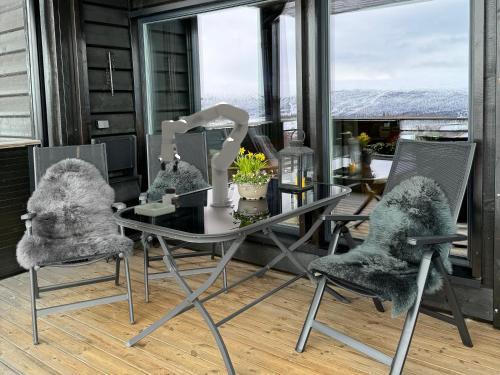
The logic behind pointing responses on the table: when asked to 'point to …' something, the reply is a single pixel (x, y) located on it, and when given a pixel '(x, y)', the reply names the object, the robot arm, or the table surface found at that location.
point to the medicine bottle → (171, 197)
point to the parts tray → (155, 209)
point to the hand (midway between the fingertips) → (169, 171)
